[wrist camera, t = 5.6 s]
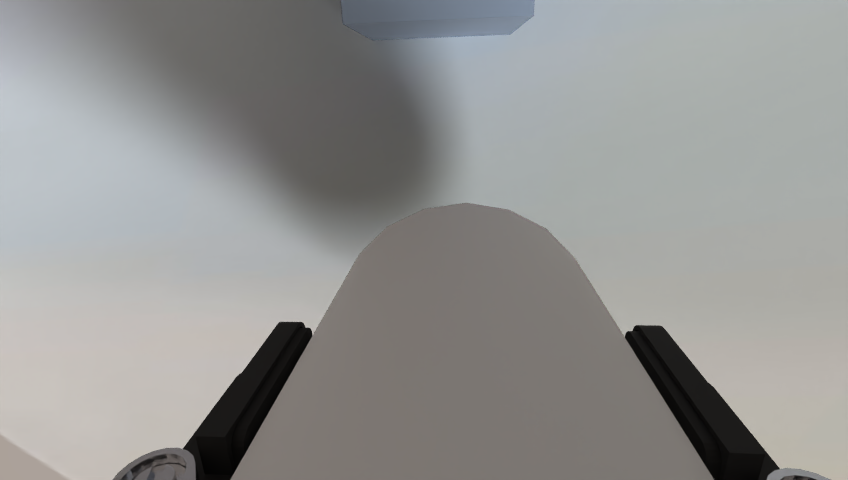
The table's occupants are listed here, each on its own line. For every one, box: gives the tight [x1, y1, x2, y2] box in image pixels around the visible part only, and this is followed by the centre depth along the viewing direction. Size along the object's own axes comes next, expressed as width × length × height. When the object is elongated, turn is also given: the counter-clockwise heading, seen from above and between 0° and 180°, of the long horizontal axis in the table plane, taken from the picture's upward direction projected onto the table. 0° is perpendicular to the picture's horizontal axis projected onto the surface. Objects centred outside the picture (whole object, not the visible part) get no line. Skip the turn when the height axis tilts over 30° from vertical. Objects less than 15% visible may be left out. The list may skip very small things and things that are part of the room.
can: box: [230, 203, 714, 480], centre depth 9 cm, size 8×8×12 cm
